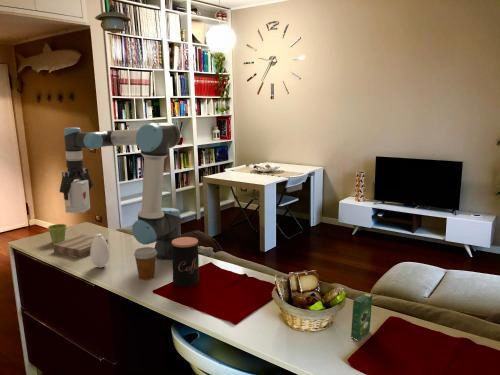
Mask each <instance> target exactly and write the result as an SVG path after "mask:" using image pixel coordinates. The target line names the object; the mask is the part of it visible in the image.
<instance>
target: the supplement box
mask: <svg viewBox="0 0 500 375" xmlns="http://www.w3.org/2000/svg"><path fill="white" fill-rule="evenodd" d="M68 193H70V200H71V206H70V207H69V206H66V203H65V202H64V206H65V213H68V214H69V213H72V214H73V213H75V214H77V213H79V214H80V213H81V214H85V212H87V211H89V210H91V200H90V194H89V183H88V180H80V179H75V180H74V181H73V183H71V187H70V190H69V192H68Z"/></svg>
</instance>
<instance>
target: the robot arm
mask: <svg viewBox="0 0 500 375" xmlns="http://www.w3.org/2000/svg"><path fill="white" fill-rule="evenodd" d="M63 135H64V136H63V139H64V140H63V141H64V149H65V159H66V168H67V171H61V172H62V173H61V176H62V177H61V183H60V186H59V193H62V194H63V200H64V204H65V203H66V206H69V207H70V206H71V200H70V193H68V192H69V190H70V187H71V183H73V181H74V180H88V183H89V195H90V194H91V192H90V191H91V190H90V189H92V187H93V186H94V185H93V182H92V179H91V176H90V174H89V168H84V160H83V159H84V156H83V149H90V150H97V149H101V148H106V147H117V146H137V147H138V149H139V150H140V155H141V156H142V157H143V159H144V160H143V170H142V171H143V172H142V173H143V176H142V192H141V193H142V195H141V196H142V197H141V209H140V211H138V213H137V220H136V221H134V223H133V224H132V226H131V233H132V235H133V237H134V239H135V240H136V241H137V242H138V243H139V244H142V245H150V244H153V243H155V245H154V248H155V249H156V251H157V255H156V259H160V260H172V246H173V245H172V240H174V239H176V238H180V237H182V234H181V230H182V229H181V228H182V226H181V218H182V216H181V210H179V209H177V208H172V207H162V202H163V200H162V199H163V186H164V185H163V184H164V167H165V159H166V158H167V157H168V156H169V149H172V148H175V146H177V145H178V144H179V143H180V140H181V135H182V134H181V131H180V128H179V126H177V125H176V124H174V123H172V122H167V121H166V122H150V123H146V124H143V125H141V126H140V127H139V128H133V129H132V128H131V129H130V128H129V129H117V130H102V131H89V132H87V131H85V132H82V130H81V128H80V127H75V126H72V127H66V128H64V129H63Z"/></svg>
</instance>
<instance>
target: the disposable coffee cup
mask: <svg viewBox="0 0 500 375" xmlns="http://www.w3.org/2000/svg"><path fill="white" fill-rule="evenodd" d="M156 255H157V251H156V249H155V247H152V246H151V247H150V246H146V247H145V246H144V247H140V248H136V249H135V250H134V253H133V256H134V258H135V264H136V267H137V269H136V270H137V273H138V278H139V280H142V281H149V280H153V279H154V278H155V270H156V261H157V258H156Z"/></svg>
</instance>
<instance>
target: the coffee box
mask: <svg viewBox="0 0 500 375" xmlns="http://www.w3.org/2000/svg"><path fill="white" fill-rule="evenodd" d="M352 302H353V303H352V316H351V317H352V318H351V328H350V329H351V333H350V338H351V337H353V338H355V339H357V340H359V339H360V338H361V337H362V338H364V337H365V336H366V335H367V334H368V332H369V331H370V330H371V319H372V317H371V316H372V304H373V294H371V293H368V292H364V293H363V294H361V295H359V296H358V297H356V298H355V299H353V301H352ZM370 332H371V331H370ZM370 332H369V333H370ZM365 334H366V335H365ZM364 335H365V336H364ZM363 336H364V337H363ZM362 338H361V339H362ZM361 339H360V340H361ZM360 340H359V341H360Z"/></svg>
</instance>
